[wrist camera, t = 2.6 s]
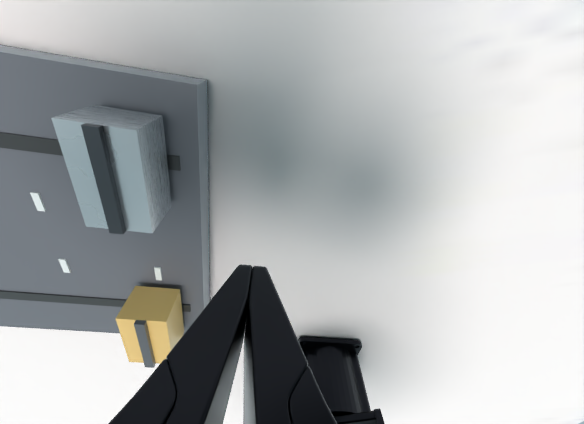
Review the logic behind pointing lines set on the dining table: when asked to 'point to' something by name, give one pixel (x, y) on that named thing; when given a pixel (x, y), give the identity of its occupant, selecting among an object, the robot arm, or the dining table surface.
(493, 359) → the dining table surface
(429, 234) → the dining table surface
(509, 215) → the dining table surface
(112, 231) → the block
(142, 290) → the amber fader
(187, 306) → the mixing board
